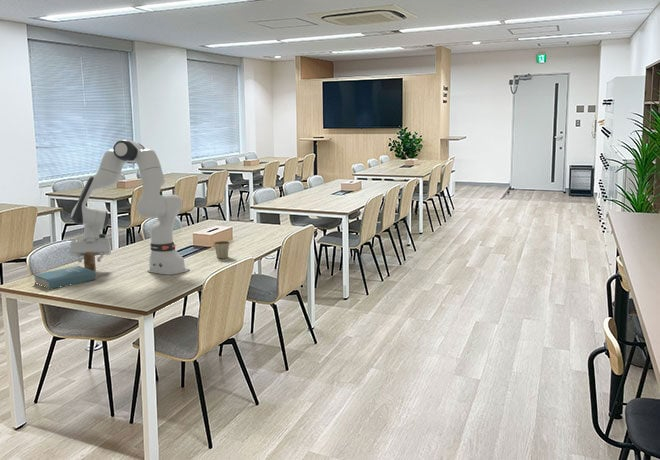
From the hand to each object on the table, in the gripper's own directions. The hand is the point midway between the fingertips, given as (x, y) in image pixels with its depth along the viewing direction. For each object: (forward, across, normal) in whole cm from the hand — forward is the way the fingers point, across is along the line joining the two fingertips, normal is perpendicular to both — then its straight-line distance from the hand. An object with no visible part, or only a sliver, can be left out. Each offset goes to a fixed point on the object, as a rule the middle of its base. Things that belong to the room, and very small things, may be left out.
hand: (89, 261), depth 312 cm
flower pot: (-11, +68, +19) cm, 71 cm away
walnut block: (+4, 0, +4) cm, 6 cm away
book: (+17, -8, -8) cm, 21 cm away
